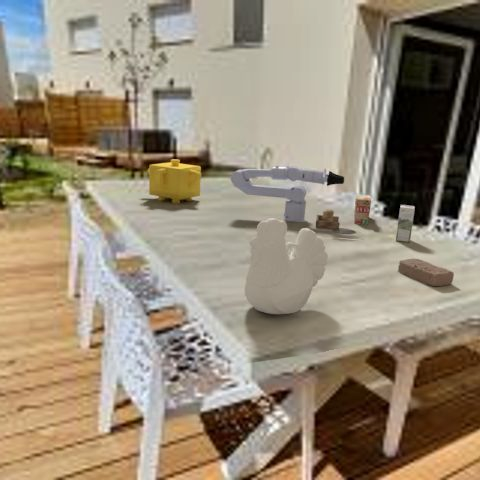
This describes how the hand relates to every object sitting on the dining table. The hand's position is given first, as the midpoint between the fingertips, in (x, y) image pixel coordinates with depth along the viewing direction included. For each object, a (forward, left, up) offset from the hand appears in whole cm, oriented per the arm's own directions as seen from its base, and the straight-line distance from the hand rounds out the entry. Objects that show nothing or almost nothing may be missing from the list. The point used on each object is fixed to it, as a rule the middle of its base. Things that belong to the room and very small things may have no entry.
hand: (344, 180), depth 228 cm
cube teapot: (-86, +27, -21) cm, 92 cm away
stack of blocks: (+10, +13, -21) cm, 26 cm away
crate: (-6, -5, -20) cm, 22 cm away
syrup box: (+25, -19, -21) cm, 38 cm away
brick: (+26, -66, -21) cm, 74 cm away
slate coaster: (+1, -14, -20) cm, 25 cm away
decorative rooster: (-16, -104, -21) cm, 107 cm away
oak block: (-6, -5, -20) cm, 21 cm away
